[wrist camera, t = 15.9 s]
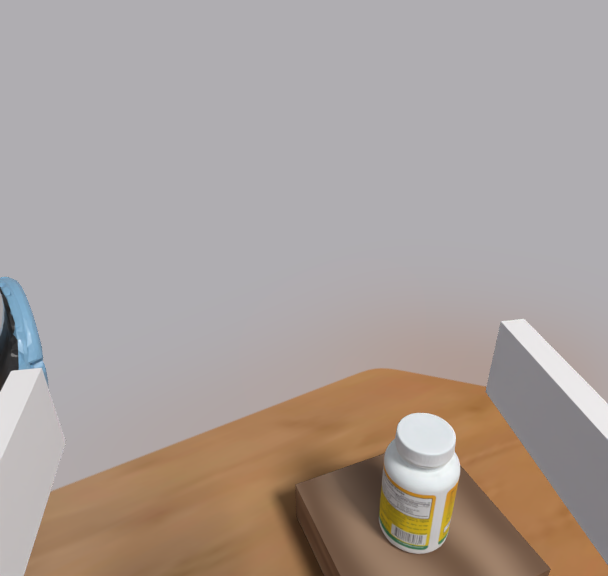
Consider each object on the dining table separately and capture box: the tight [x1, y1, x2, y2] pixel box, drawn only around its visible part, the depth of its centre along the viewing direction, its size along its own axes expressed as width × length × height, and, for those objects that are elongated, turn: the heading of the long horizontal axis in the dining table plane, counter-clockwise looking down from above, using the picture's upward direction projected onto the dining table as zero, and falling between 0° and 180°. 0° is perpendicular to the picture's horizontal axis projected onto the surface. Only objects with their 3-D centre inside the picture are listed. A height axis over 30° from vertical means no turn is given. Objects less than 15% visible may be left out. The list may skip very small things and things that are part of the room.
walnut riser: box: [296, 454, 551, 576], centre depth 41 cm, size 14×14×4 cm
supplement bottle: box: [379, 413, 460, 554], centre depth 38 cm, size 5×5×10 cm
